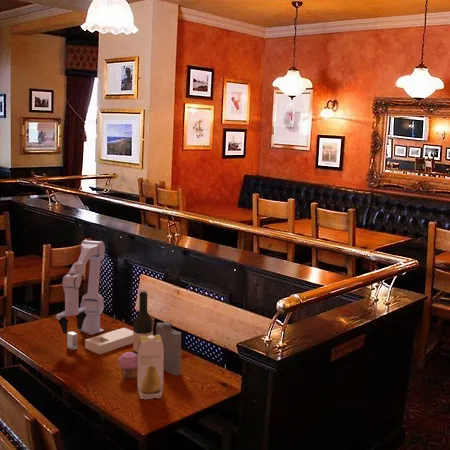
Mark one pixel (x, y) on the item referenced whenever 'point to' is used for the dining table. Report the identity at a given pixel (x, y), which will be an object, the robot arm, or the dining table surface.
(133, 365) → the cupcake
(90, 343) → the pale beige flat-sided block
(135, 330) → the wine bottle
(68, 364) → the dining table surface
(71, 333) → the pinkish white rectangular block
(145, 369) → the juice carton
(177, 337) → the hip flask
